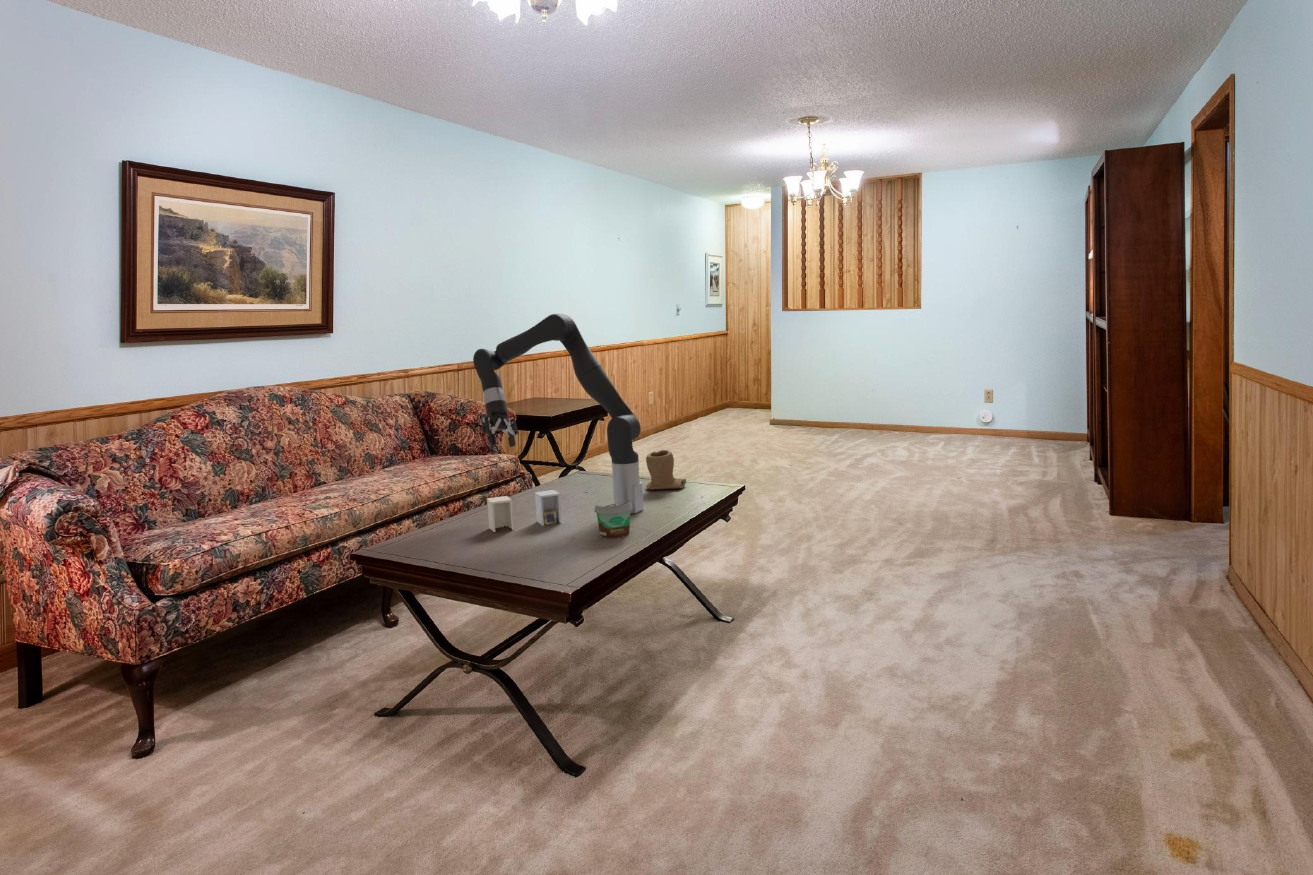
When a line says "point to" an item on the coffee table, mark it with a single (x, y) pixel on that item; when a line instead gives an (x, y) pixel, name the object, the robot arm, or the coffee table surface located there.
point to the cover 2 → (547, 504)
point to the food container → (614, 520)
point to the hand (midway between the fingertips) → (503, 446)
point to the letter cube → (549, 516)
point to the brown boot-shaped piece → (662, 471)
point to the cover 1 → (500, 512)
